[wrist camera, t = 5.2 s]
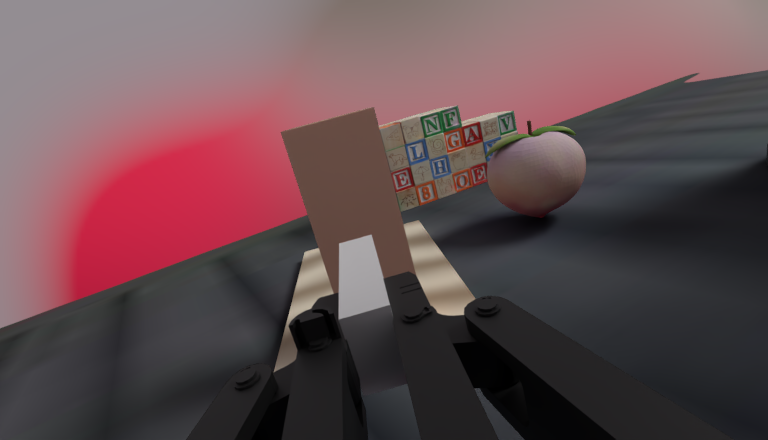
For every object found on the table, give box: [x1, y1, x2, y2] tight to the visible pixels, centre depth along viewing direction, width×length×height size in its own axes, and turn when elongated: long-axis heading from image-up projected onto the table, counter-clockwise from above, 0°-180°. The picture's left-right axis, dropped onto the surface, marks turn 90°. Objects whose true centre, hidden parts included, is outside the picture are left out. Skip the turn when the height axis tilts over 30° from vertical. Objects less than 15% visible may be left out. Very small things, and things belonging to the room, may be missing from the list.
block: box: [281, 107, 416, 293], centre depth 24 cm, size 5×5×14 cm
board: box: [274, 220, 475, 372], centre depth 34 cm, size 24×14×1 cm, turn 6°
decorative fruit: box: [485, 121, 586, 218], centre depth 38 cm, size 9×8×10 cm
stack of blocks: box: [379, 106, 518, 212], centre depth 58 cm, size 21×6×12 cm, turn 109°
